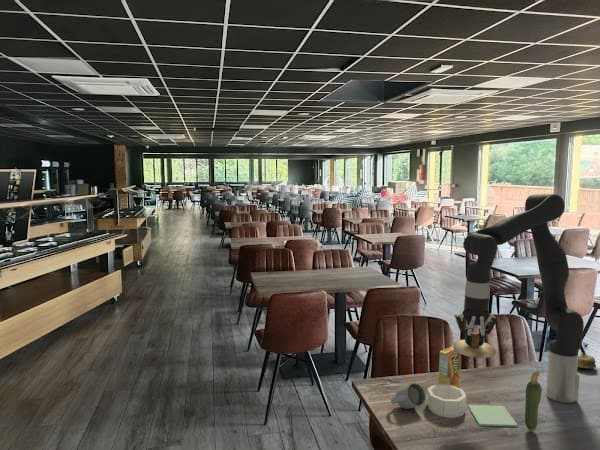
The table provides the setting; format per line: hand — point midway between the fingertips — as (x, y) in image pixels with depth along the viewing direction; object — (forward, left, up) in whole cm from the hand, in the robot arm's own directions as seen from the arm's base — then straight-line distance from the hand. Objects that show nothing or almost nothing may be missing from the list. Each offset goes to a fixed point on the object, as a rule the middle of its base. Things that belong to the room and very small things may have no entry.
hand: (474, 345), depth 150 cm
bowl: (+8, -3, -24) cm, 25 cm away
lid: (0, 0, -2) cm, 2 cm away
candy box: (+3, -18, -24) cm, 30 cm away
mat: (-6, +1, -24) cm, 25 cm away
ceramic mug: (+22, -1, -24) cm, 33 cm away
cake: (-59, -43, -25) cm, 77 cm away
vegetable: (-16, +9, -24) cm, 30 cm away
